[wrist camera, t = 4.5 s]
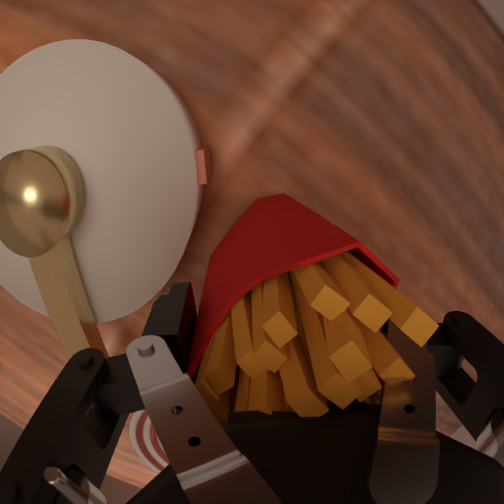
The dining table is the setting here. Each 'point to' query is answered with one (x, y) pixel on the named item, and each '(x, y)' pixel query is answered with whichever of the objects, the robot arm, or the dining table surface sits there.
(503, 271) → the dining table surface
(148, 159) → the crank housing
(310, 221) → the french fries
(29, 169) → the crank
